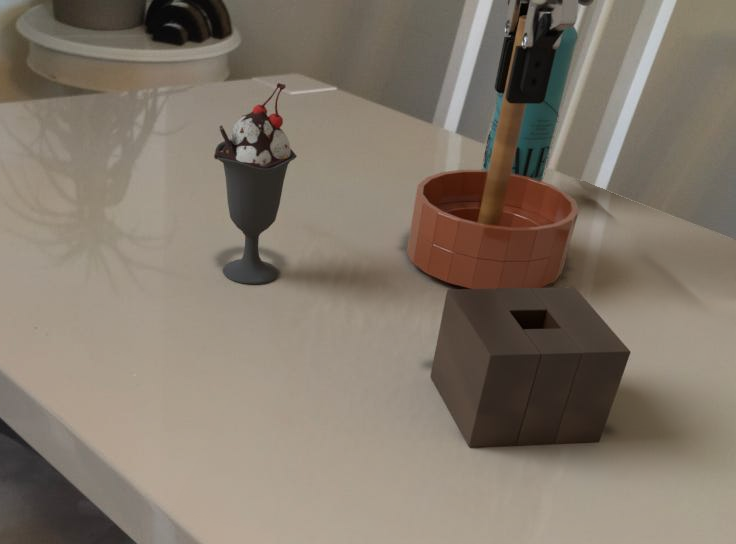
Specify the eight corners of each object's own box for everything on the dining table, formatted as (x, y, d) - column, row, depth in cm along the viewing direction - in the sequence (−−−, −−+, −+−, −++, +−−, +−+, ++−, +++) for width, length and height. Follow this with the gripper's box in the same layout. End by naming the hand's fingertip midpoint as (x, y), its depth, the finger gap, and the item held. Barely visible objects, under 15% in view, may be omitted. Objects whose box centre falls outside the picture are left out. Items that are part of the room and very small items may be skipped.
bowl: (528, 233, 97) (543, 169, 92) (583, 297, 87) (603, 229, 82) (389, 234, 95) (399, 169, 90) (430, 300, 85) (443, 230, 80)
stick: (473, 240, 90) (520, 13, 78) (495, 243, 90) (545, 16, 77) (472, 248, 89) (518, 19, 76) (494, 251, 88) (544, 22, 76)
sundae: (301, 269, 88) (316, 83, 77) (263, 295, 83) (274, 103, 73) (238, 250, 90) (245, 68, 79) (198, 275, 86) (200, 86, 75)
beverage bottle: (502, 183, 106) (550, -36, 92) (551, 203, 103) (608, -22, 89) (462, 195, 103) (506, -31, 89) (511, 215, 100) (564, -16, 86)
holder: (549, 373, 76) (574, 286, 71) (599, 442, 69) (631, 351, 65) (429, 376, 75) (446, 289, 70) (468, 447, 68) (490, 355, 63)
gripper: (683, -180, 63) (599, 128, 76) (586, -201, 74) (527, 70, 87) (573, -186, 62) (507, 128, 75) (493, -207, 73) (447, 69, 86)
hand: (518, 95), depth 81 cm, fingers closed on stick, 2 cm apart
